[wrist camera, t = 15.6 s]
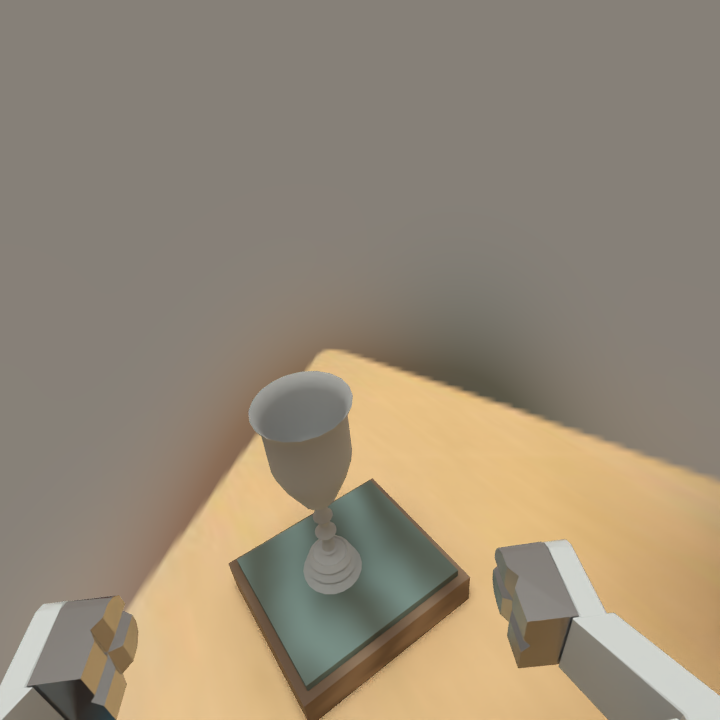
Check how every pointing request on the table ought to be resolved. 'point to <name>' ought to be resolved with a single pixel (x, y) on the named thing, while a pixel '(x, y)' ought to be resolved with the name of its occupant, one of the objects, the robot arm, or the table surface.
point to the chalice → (311, 462)
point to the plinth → (348, 597)
